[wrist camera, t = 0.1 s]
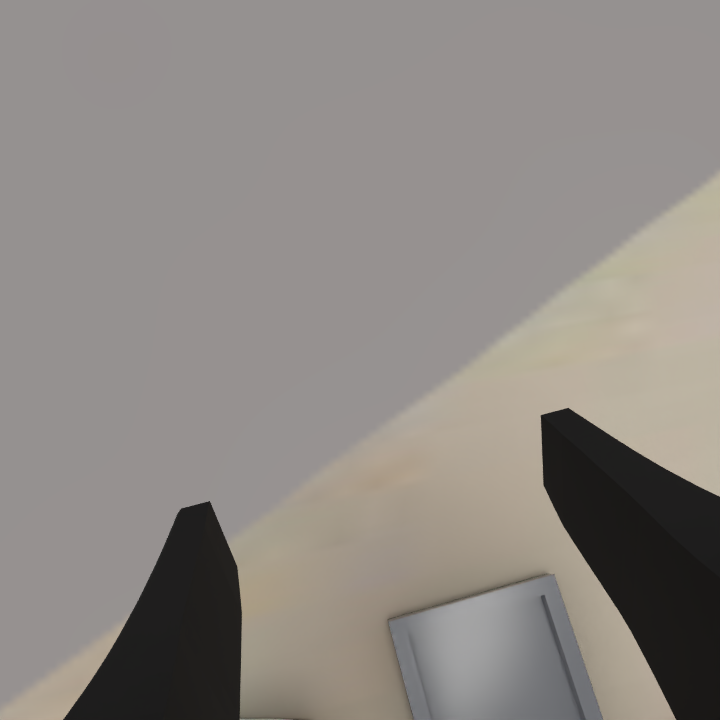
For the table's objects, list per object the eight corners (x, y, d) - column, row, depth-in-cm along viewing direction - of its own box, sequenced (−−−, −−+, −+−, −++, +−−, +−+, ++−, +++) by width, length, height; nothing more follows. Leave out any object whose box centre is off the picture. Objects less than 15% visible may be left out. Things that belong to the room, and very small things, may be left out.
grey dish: (607, 754, 41) (617, 763, 39) (436, 806, 40) (439, 817, 38) (547, 573, 44) (554, 574, 42) (387, 619, 43) (388, 621, 41)
